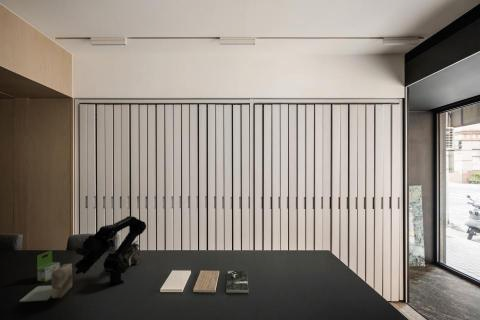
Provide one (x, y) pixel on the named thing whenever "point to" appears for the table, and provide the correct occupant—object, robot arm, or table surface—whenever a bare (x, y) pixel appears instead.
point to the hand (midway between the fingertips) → (76, 273)
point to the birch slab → (61, 281)
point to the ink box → (46, 267)
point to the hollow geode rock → (132, 255)
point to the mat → (38, 294)
